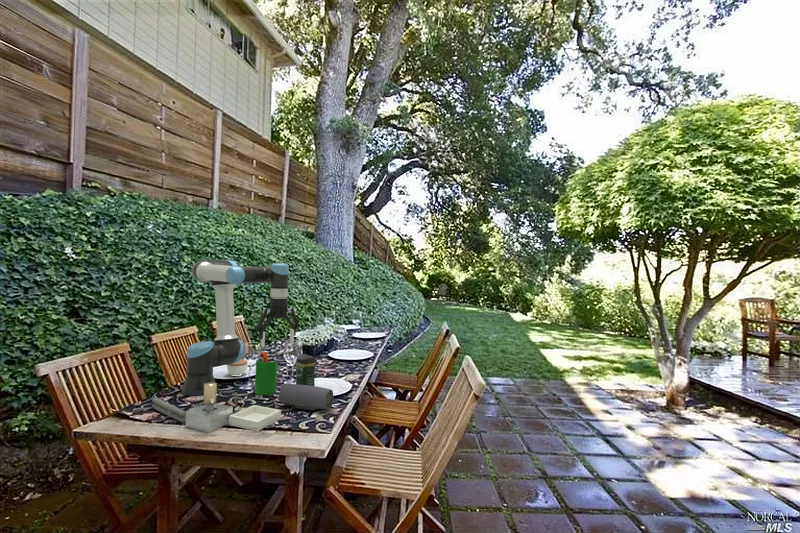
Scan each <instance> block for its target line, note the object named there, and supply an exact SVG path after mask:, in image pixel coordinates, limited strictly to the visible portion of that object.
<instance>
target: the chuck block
mask: <svg viewBox="0 0 800 533" xmlns="http://www.w3.org/2000/svg"><path fill="white" fill-rule="evenodd" d="M185 412H186V416H185V418H186V422H185V428H187V429H191V430H192V429H193V430H197V431H200V432H205V433H211V432H214V431H216V430H218V429H219V428H222V427H223V426H226V425H229V416H230V415H232V414H234V412H233V406H229V405H225V404H220V403H216V402H214V410H213V411H211V412H208V411H205V403H204V404H202V405H200V406H197V407H194V408H191V409H189V410H186V411H185Z"/></svg>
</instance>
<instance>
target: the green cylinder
mask: <svg viewBox="0 0 800 533" xmlns="http://www.w3.org/2000/svg"><path fill="white" fill-rule="evenodd" d="M268 356H269V355H268V353H267V352H260V356H259V357H260V358H258V359H256V360H255V379H254V380H255V381H254V383H255V384H254V394H255V395H258V396H259V395H260V396H269V395H274V394H275V393H277V381H278V380H277V377H278V376H277V375H278V360H273V361H271V360H268V358H269V357H268Z"/></svg>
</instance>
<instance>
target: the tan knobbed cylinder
mask: <svg viewBox="0 0 800 533" xmlns="http://www.w3.org/2000/svg"><path fill="white" fill-rule="evenodd" d="M217 384H218V383H217V382H216V381H215V382H209V383H205V384H204V395H203V403H204V404H205V411H208V412H211V411H213V410H214V403H216V402H217V388H218V387H217V386H218V385H217Z"/></svg>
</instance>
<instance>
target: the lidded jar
mask: <svg viewBox="0 0 800 533" xmlns="http://www.w3.org/2000/svg"><path fill="white" fill-rule="evenodd" d="M247 367H248V360H246V359H242V358H241V360H240V361H239V362H237V363H233V364H231V365H229V364H228V365H226V370H227V372H228V375H230V376H231V375H240V374H243V373H244V374H245V372H246V371H247ZM244 374H243V375H244Z"/></svg>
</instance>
